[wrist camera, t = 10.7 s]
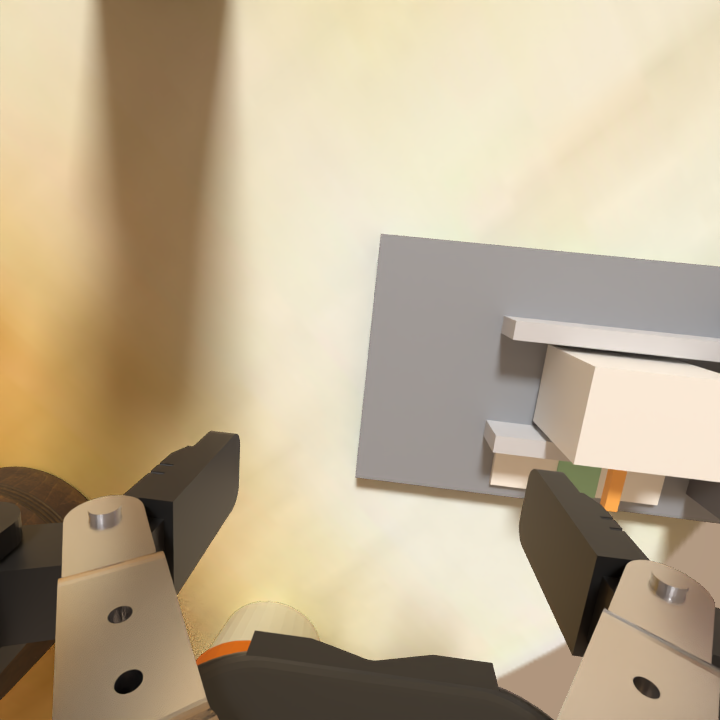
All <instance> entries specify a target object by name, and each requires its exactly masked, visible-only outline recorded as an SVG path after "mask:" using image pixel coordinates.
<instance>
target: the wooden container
mask: <svg viewBox="0 0 720 720" xmlns="http://www.w3.org/2000/svg"><path fill="white" fill-rule="evenodd" d="M87 501H88V500H87V499H86V498H85V497H84V496H83V495H82V494H81V493H79V492H78V491H77V490H76V489H75V488H73V487H72V486H70V485H69V484H67V483H66V482H64V481H63V480H61V479H59V478H57V477H55V476H53V475H51V474H49V473H46V472H43V471H40V470H36V469H31V468H26V467H4V468H0V502H9V503H12V504H15V505H17V506H18V507H19V508H20V512H21V522H22V525H36V524H49V523H61V522H63V521H64V518H65V516H66V515H67V514H68V513H69V512H70V511H71V510H72V509H74V508H75V507H77V506H78V505H80V504H82V503H85V502H87ZM54 643H55V639H54V640H47V641H40V642H33V643H26V645H25V646H24V647H23V648H22V650H21V651H20V652H19V653H18V654H17V655H16V656H15V658H14V659H13V660H12V661H11V662H10V663H9V664H8V665H7V667H6V668H5V669H4V670H3V671H2V672H1V673H0V700H1V699H2V698H3V697H4V696H5V695H6V694H7V693H8V692H9V691H10V690H11V689H12V688H13V686H14V685H15V684H16V683H17V682H18V681H19V680H20V679H21V678H22V677H23V676H24V675H25V674H26V673H27V672H28V671H29V670H30V669H31V667H32V666H33V665H34V664H35V663H36V662H37V661H38V660H39V659H40V658H41V657H42V656H43V655H44V654H45V653H46V652H47V650H48V649H49V648H50V647H51V646H52V645H53V644H54Z"/></svg>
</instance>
